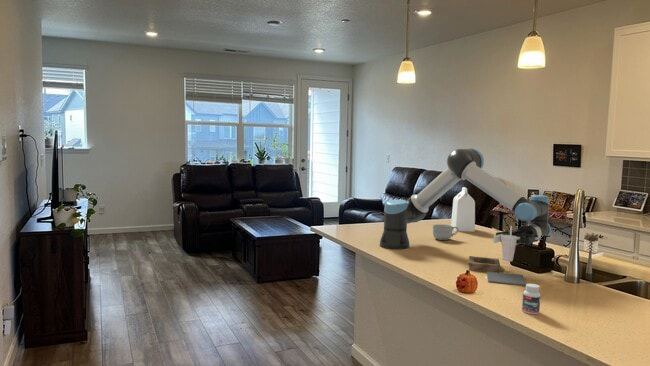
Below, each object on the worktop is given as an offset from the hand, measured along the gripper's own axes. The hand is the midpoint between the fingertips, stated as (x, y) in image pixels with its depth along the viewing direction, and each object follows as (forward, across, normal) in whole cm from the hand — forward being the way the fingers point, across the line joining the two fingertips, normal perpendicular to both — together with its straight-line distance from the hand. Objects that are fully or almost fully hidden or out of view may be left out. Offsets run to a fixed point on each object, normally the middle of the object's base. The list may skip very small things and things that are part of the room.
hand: (502, 241), depth 186 cm
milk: (-85, +67, -16) cm, 110 cm away
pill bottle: (+24, -22, -17) cm, 36 cm away
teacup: (-50, +58, -16) cm, 78 cm away
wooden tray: (-14, +15, -16) cm, 26 cm away
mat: (-5, 0, -16) cm, 17 cm away
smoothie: (-5, 0, -9) cm, 10 cm away
